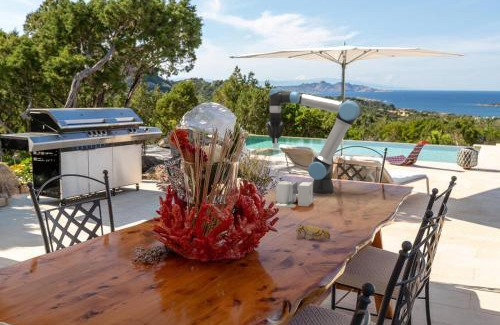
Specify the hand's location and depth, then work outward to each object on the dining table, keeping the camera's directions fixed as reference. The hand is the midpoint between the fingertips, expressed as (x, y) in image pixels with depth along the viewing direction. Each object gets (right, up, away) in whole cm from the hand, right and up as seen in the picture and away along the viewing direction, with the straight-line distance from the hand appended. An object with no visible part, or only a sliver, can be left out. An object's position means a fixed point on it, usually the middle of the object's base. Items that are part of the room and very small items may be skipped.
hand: (275, 148), depth 308 cm
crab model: (+12, -43, -100) cm, 110 cm away
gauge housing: (+9, -34, -34) cm, 49 cm away
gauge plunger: (+12, -34, -34) cm, 50 cm away
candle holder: (+4, -34, -28) cm, 44 cm away
